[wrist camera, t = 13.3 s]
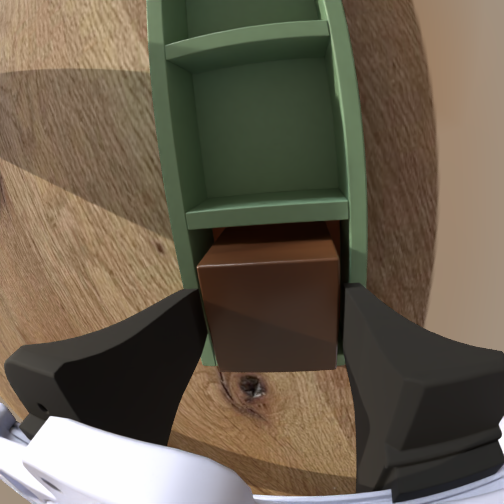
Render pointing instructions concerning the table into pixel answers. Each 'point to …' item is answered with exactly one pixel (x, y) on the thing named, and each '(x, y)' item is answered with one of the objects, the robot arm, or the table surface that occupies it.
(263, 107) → the rack
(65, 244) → the table surface
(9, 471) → the robot arm
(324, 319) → the block
